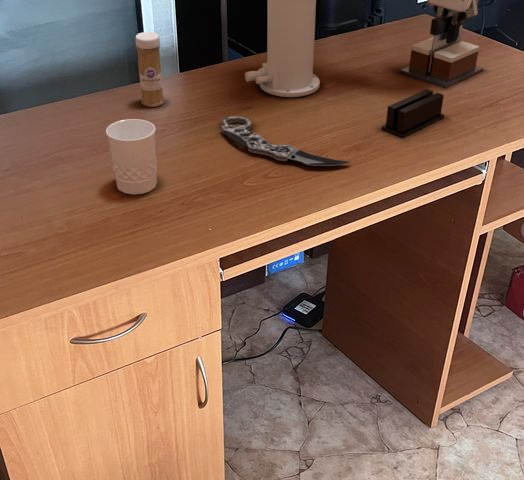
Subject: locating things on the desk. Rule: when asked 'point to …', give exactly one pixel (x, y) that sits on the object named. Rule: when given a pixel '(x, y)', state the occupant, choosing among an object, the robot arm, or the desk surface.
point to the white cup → (133, 155)
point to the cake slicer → (442, 34)
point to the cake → (443, 63)
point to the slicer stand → (414, 113)
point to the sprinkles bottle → (150, 68)
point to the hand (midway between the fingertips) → (446, 40)
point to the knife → (270, 145)
